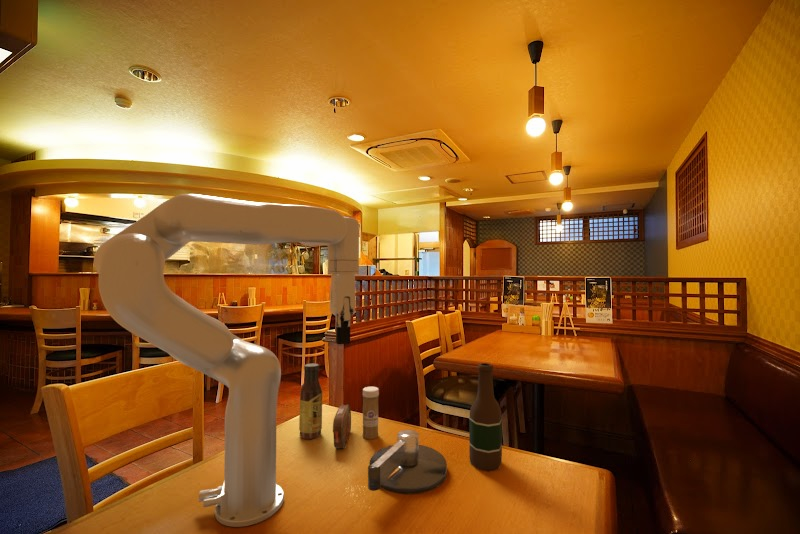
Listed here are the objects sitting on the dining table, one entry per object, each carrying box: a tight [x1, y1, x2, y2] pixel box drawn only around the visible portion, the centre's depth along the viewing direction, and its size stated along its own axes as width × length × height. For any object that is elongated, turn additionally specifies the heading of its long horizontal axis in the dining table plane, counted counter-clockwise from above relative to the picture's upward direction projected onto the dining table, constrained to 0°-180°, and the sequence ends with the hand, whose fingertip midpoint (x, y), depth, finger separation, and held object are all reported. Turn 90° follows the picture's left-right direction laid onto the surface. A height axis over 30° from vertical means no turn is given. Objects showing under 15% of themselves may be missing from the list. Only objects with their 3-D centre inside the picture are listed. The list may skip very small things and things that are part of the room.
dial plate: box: [369, 444, 448, 495], centre depth 84 cm, size 18×18×2 cm
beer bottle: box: [468, 362, 503, 472], centre depth 88 cm, size 8×8×24 cm
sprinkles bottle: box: [362, 386, 380, 440], centre depth 102 cm, size 5×5×13 cm
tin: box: [332, 404, 352, 449], centre depth 99 cm, size 15×3×8 cm, turn 179°
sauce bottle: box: [298, 363, 323, 440], centre depth 103 cm, size 6×6×20 cm
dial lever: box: [367, 429, 420, 492], centre depth 78 cm, size 19×5×6 cm, turn 152°
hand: (343, 343), depth 88 cm, fingers closed
